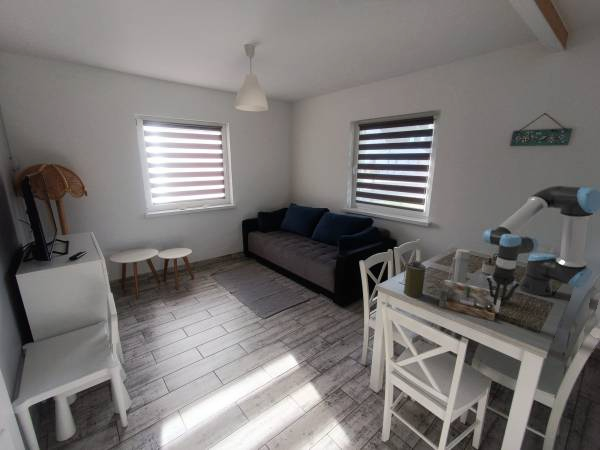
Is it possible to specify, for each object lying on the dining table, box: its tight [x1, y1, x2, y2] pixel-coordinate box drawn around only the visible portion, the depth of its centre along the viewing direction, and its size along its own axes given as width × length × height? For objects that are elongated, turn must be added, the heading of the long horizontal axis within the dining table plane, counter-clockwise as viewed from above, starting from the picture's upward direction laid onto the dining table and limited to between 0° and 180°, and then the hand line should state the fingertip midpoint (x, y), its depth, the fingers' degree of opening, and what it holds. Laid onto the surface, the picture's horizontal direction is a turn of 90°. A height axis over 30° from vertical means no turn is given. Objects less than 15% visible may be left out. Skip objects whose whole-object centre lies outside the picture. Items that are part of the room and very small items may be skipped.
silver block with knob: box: [460, 288, 493, 312], centre depth 136 cm, size 14×6×9 cm, turn 55°
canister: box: [403, 259, 427, 299], centre depth 153 cm, size 11×10×20 cm
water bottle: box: [448, 248, 470, 284], centre depth 158 cm, size 9×8×25 cm
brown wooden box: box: [438, 279, 496, 322], centre depth 138 cm, size 24×10×12 cm, turn 55°
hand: (496, 310), depth 132 cm, fingers closed
